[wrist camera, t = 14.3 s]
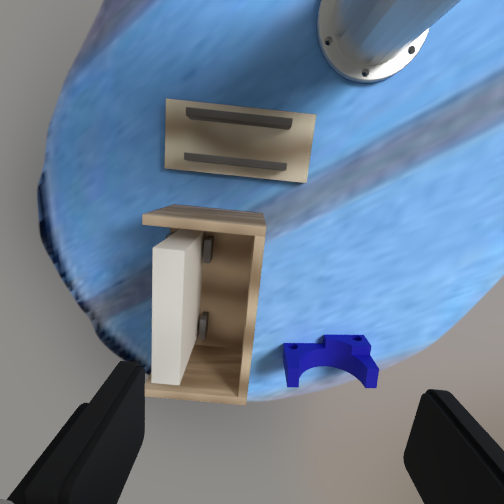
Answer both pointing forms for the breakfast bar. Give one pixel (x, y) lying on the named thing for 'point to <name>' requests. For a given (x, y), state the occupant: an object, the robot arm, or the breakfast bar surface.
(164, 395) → the cabinet
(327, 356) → the cable clip
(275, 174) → the door stand
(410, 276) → the breakfast bar surface
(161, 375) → the door
